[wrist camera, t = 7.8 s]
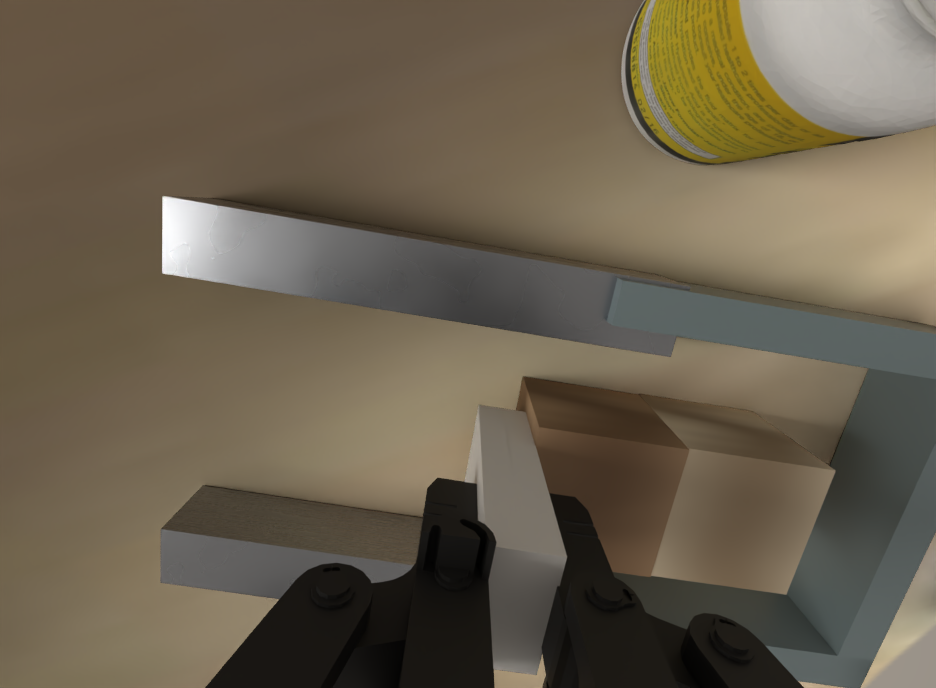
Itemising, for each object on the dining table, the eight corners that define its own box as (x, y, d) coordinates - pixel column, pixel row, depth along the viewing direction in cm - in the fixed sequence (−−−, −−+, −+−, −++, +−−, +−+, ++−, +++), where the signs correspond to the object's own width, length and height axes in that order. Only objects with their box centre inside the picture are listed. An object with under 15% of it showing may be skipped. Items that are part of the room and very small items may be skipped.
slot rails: (201, 533, 18) (160, 582, 16) (211, 198, 15) (162, 196, 13) (572, 586, 19) (588, 641, 16) (657, 274, 16) (690, 286, 13)
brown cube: (501, 481, 18) (510, 557, 14) (523, 376, 17) (539, 427, 13) (611, 497, 18) (650, 577, 14) (638, 394, 17) (689, 450, 13)
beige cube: (610, 496, 18) (650, 575, 14) (638, 393, 17) (689, 448, 13) (718, 511, 18) (786, 594, 14) (752, 411, 17) (835, 470, 13)
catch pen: (521, 576, 19) (531, 644, 16) (594, 267, 16) (623, 280, 13) (800, 616, 19) (859, 689, 16) (924, 323, 16) (1024, 349, 13)
